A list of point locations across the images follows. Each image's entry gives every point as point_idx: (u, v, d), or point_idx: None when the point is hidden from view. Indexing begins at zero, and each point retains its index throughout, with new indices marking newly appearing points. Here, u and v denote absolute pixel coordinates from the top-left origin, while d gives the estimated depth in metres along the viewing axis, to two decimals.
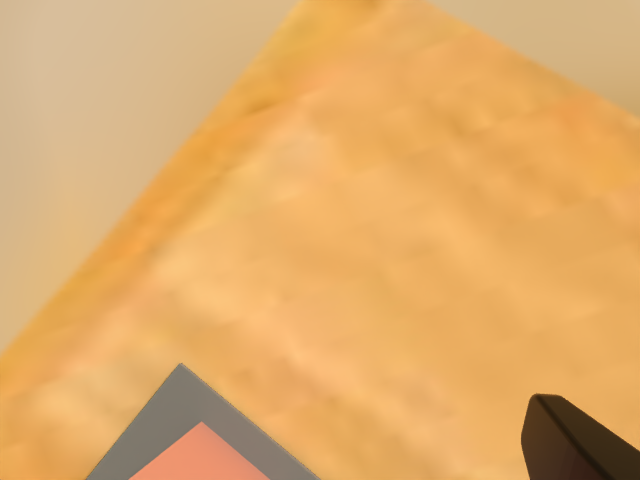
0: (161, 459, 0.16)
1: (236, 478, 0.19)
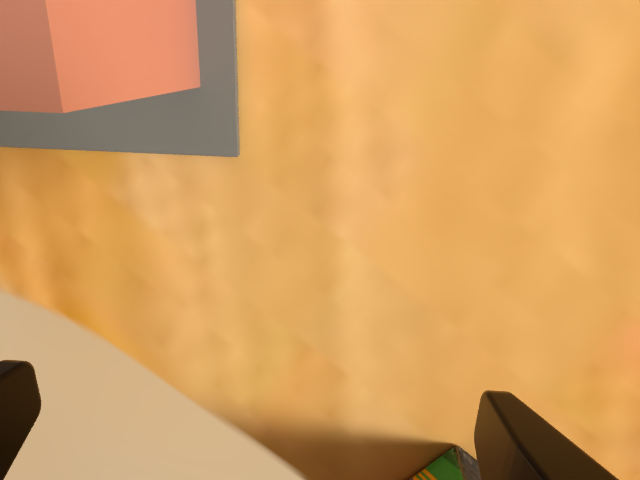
0: None
1: (170, 9, 0.14)
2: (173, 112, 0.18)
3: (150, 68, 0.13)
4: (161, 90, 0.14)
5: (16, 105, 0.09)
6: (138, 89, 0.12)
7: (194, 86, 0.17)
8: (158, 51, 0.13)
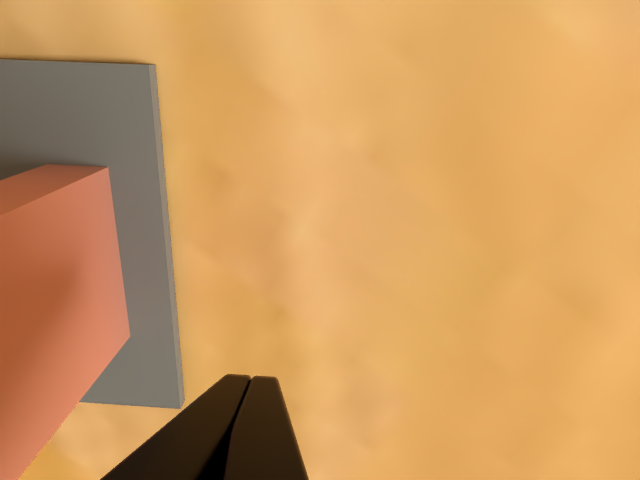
0: None
1: (67, 311, 0.10)
2: None
3: (25, 433, 0.09)
4: (51, 431, 0.10)
5: None
6: None
7: (118, 349, 0.13)
8: (42, 391, 0.10)
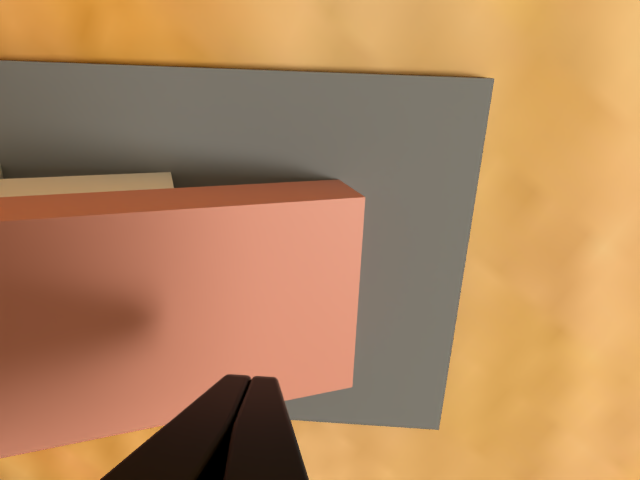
0: (64, 225, 0.08)
1: (247, 322, 0.10)
2: (363, 381, 0.14)
3: (161, 399, 0.10)
4: None
5: None
6: (119, 426, 0.10)
7: (324, 391, 0.12)
8: (191, 377, 0.10)
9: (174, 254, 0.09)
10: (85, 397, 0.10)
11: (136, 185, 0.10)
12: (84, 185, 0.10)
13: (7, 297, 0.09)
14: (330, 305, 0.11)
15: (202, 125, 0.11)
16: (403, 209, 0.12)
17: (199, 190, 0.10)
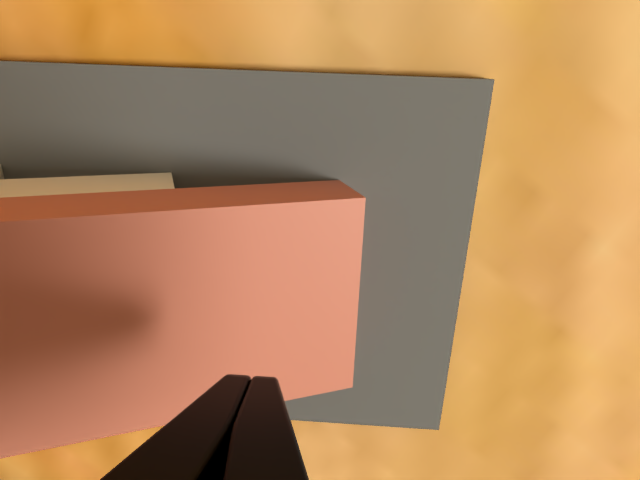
0: (65, 226, 0.08)
1: (247, 322, 0.10)
2: (363, 381, 0.14)
3: (161, 399, 0.10)
4: None
5: None
6: (119, 425, 0.10)
7: (325, 391, 0.12)
8: (192, 377, 0.10)
9: (175, 254, 0.09)
10: (86, 397, 0.10)
11: (137, 185, 0.10)
12: (85, 185, 0.10)
13: (8, 297, 0.09)
14: (330, 305, 0.11)
15: (203, 126, 0.11)
16: (403, 209, 0.12)
17: (200, 190, 0.10)
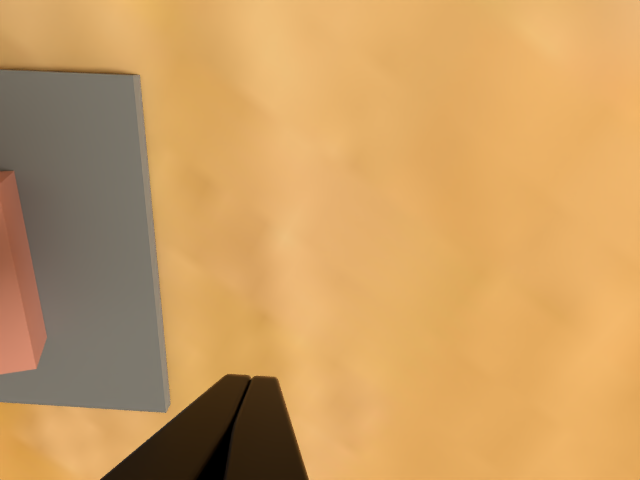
0: None
1: None
2: (84, 365, 0.14)
3: None
4: None
5: None
6: None
7: (3, 372, 0.12)
8: None
9: None
10: None
11: None
12: None
13: None
14: None
15: None
16: (81, 199, 0.12)
17: None
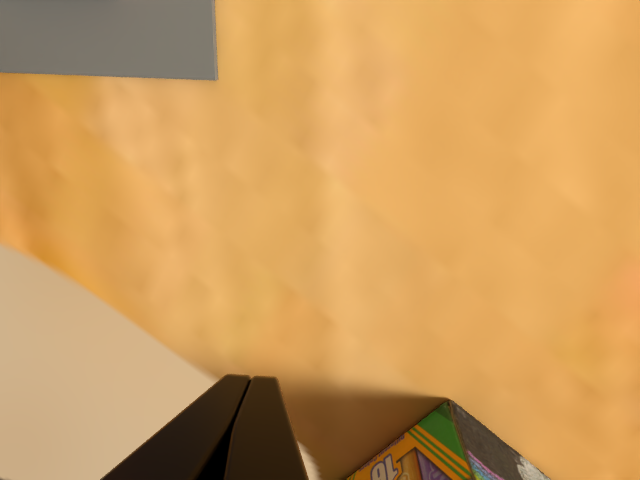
0: None
1: None
2: (146, 30, 0.17)
3: None
4: None
5: None
6: None
7: None
8: None
9: None
10: None
11: None
12: None
13: None
14: None
15: None
16: None
17: None
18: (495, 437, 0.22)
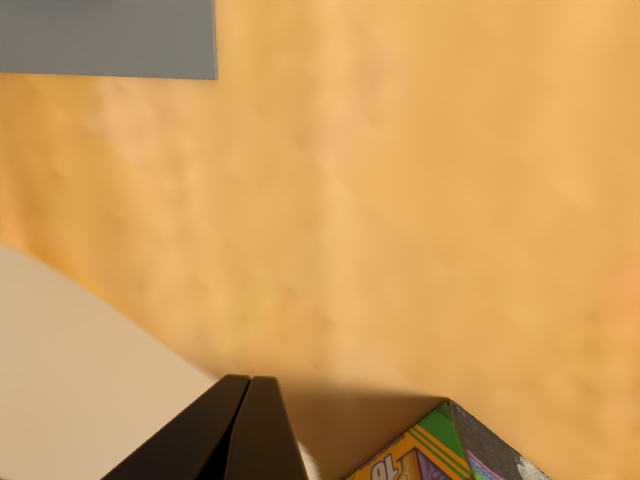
0: None
1: None
2: (146, 30, 0.17)
3: None
4: None
5: None
6: None
7: None
8: None
9: None
10: None
11: None
12: None
13: None
14: None
15: None
16: None
17: None
18: (495, 437, 0.22)
